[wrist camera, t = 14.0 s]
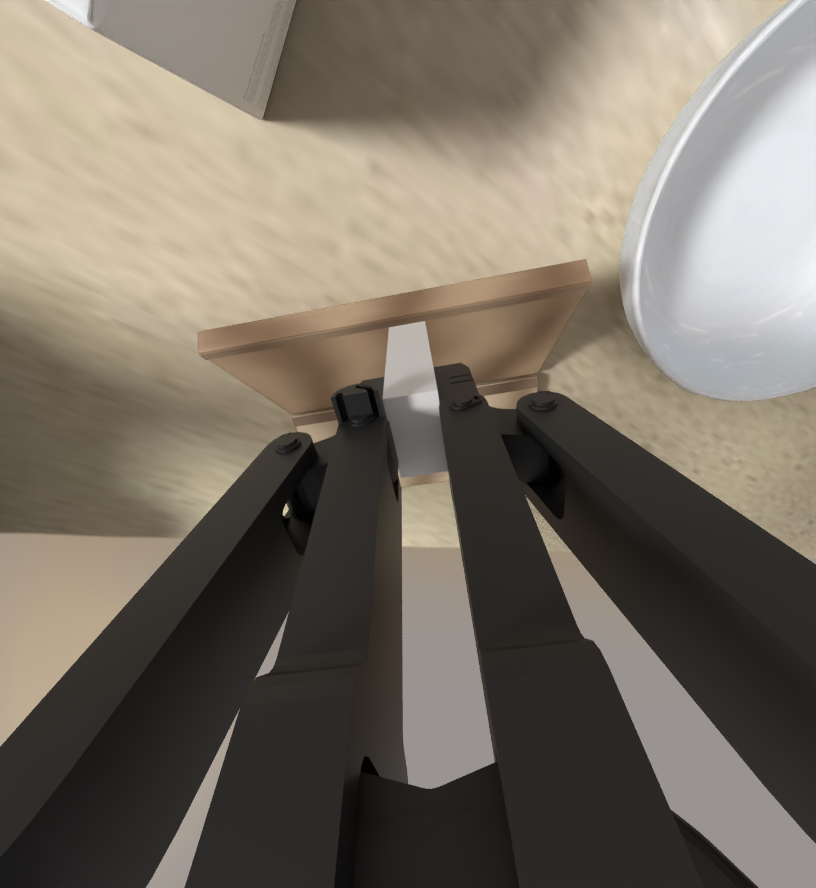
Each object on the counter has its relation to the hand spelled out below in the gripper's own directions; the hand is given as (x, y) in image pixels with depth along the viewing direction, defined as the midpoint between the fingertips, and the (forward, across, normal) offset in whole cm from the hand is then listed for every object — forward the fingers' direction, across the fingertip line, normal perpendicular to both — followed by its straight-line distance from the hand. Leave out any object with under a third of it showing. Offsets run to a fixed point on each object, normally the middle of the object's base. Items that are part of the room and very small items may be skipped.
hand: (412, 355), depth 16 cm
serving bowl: (+14, -23, 0) cm, 27 cm away
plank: (+9, +1, +3) cm, 9 cm away
